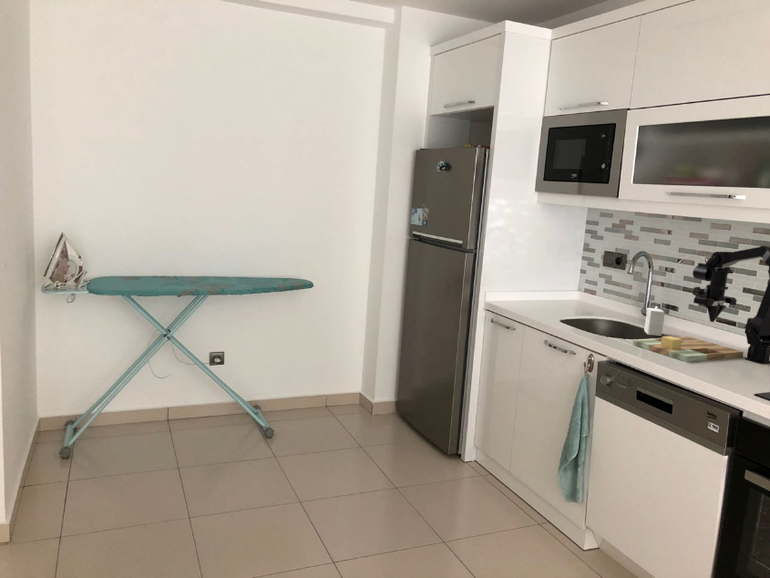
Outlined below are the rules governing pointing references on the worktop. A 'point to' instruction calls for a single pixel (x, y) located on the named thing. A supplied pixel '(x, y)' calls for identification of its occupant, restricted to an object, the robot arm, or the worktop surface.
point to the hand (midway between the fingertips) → (711, 321)
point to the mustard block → (671, 342)
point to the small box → (654, 321)
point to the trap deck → (690, 349)
